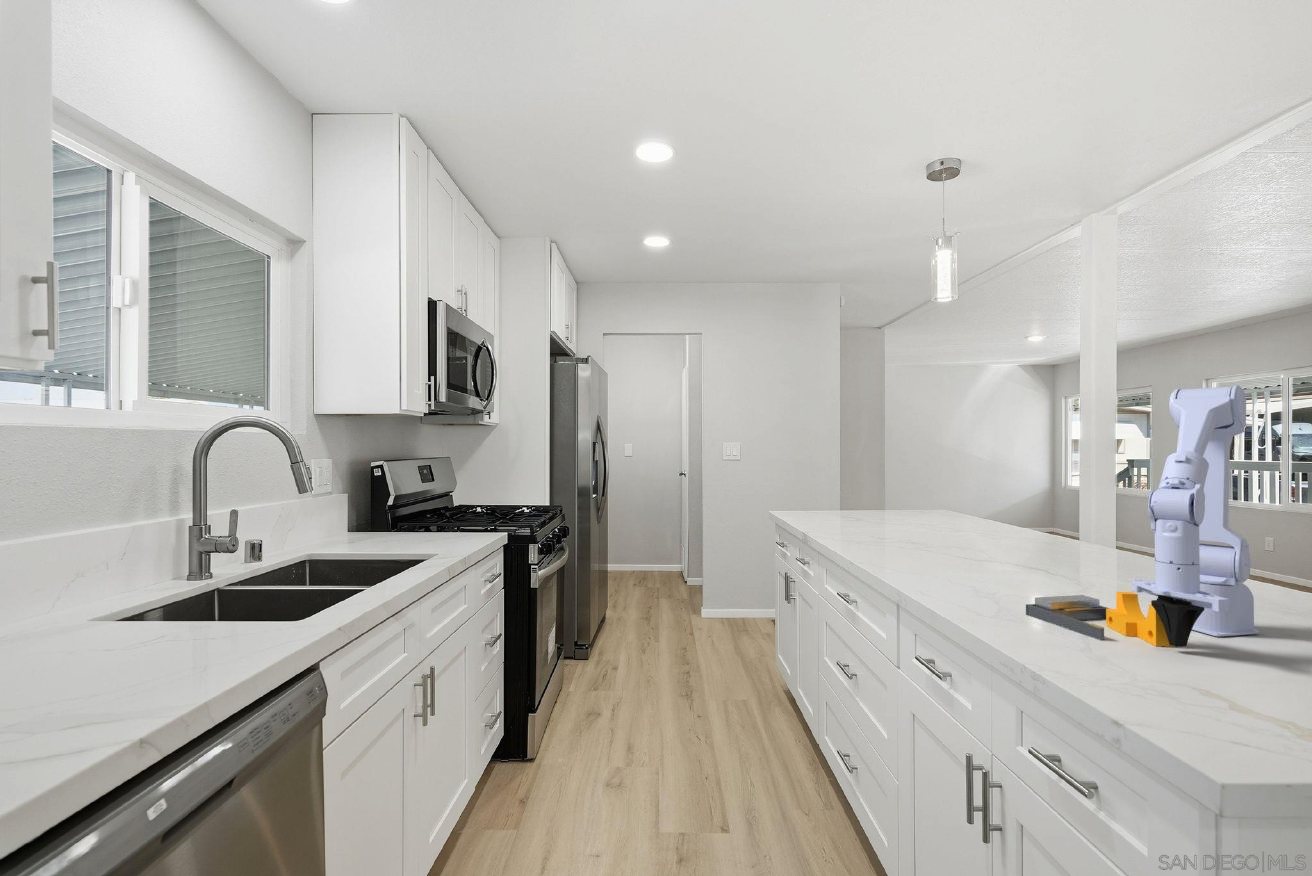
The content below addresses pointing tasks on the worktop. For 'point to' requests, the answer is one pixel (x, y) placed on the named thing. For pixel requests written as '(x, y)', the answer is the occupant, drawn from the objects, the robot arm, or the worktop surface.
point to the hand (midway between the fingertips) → (1177, 645)
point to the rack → (1070, 613)
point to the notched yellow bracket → (1136, 620)
